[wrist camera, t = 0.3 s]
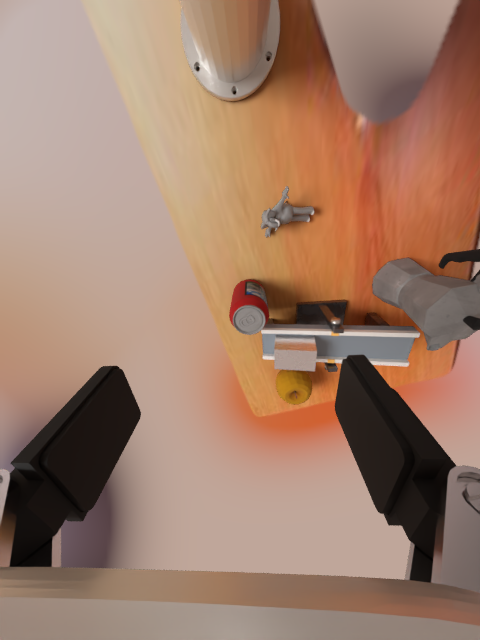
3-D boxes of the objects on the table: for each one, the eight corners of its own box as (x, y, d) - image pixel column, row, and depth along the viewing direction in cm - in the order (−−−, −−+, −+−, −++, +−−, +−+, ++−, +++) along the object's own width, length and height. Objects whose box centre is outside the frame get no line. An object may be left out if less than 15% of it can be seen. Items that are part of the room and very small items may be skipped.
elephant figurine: (301, 247, 41) (257, 250, 38) (292, 222, 42) (249, 223, 40) (334, 202, 31) (278, 202, 29) (319, 173, 33) (266, 171, 31)
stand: (264, 302, 46) (268, 329, 37) (378, 295, 44) (414, 321, 35) (266, 344, 51) (270, 377, 42) (368, 339, 50) (397, 372, 40)
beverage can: (270, 298, 46) (277, 327, 35) (243, 313, 48) (242, 344, 37) (254, 271, 43) (256, 294, 33) (227, 288, 45) (220, 314, 34)
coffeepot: (400, 313, 46) (478, 370, 30) (358, 306, 46) (415, 360, 30) (444, 238, 39) (578, 263, 23) (395, 229, 38) (497, 248, 23)
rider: (275, 333, 41) (274, 349, 37) (313, 334, 40) (317, 351, 35) (275, 352, 43) (274, 368, 39) (312, 353, 42) (314, 371, 38)
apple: (267, 366, 55) (269, 393, 47) (297, 351, 52) (305, 377, 44) (283, 386, 58) (288, 415, 50) (312, 374, 55) (322, 402, 48)
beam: (262, 323, 42) (261, 330, 40) (413, 326, 37) (420, 334, 35) (263, 352, 46) (262, 359, 44) (402, 358, 40) (408, 367, 38)
